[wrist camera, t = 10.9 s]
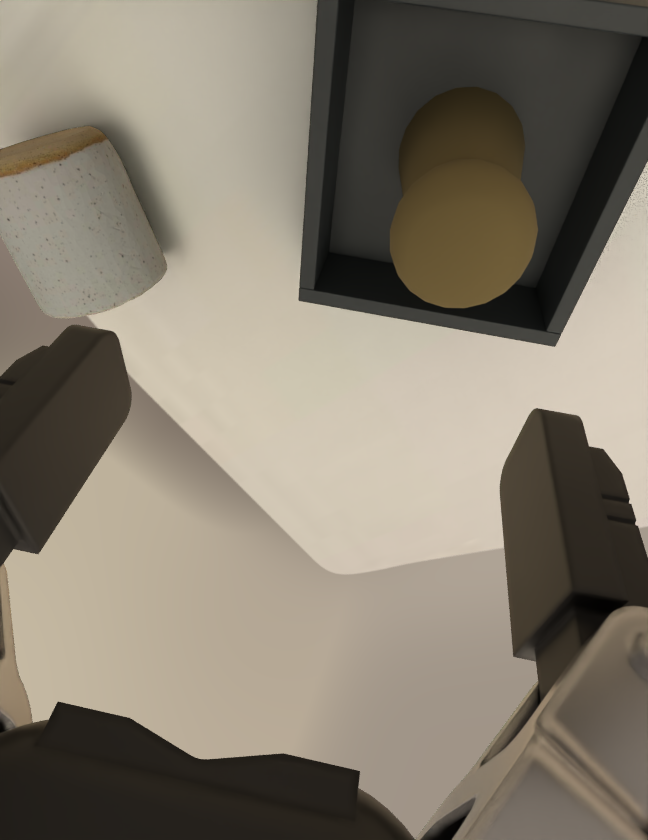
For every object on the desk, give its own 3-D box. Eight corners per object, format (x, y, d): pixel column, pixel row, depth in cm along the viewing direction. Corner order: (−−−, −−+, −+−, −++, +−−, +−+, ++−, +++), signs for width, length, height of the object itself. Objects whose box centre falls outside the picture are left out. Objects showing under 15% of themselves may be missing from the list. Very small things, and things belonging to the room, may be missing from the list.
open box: (342, -44, 22) (319, -38, 18) (674, 0, 21) (720, 16, 17) (316, 257, 31) (298, 301, 28) (543, 297, 30) (555, 347, 27)
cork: (544, 95, 23) (589, 181, 15) (501, 226, 27) (520, 346, 20) (410, 78, 24) (388, 152, 16) (389, 209, 28) (362, 319, 20)
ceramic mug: (126, 106, 27) (40, 151, 22) (188, 252, 32) (132, 318, 27) (-24, 147, 30) (-131, 195, 25) (55, 273, 36) (-20, 336, 30)
